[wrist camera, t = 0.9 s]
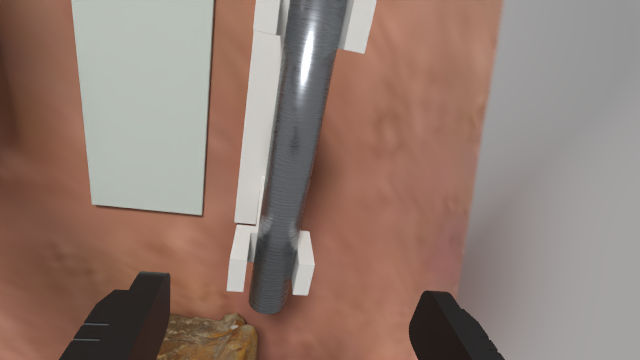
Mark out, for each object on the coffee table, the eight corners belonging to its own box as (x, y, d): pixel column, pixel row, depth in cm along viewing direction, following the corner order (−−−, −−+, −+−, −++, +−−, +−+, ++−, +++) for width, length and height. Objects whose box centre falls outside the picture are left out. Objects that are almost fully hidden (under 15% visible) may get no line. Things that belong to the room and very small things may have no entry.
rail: (283, 284, 29) (289, 312, 26) (247, 286, 28) (249, 315, 25) (347, -53, 19) (368, -66, 16) (295, -70, 18) (307, -87, 15)
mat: (94, 201, 36) (92, 204, 36) (65, -98, 26) (61, -101, 25) (202, 212, 39) (201, 215, 38) (217, -58, 28) (216, -60, 27)
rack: (235, 215, 40) (211, 324, 25) (262, -46, 29) (248, -135, 14) (298, 222, 41) (310, 327, 26) (346, -24, 30) (414, -83, 15)
